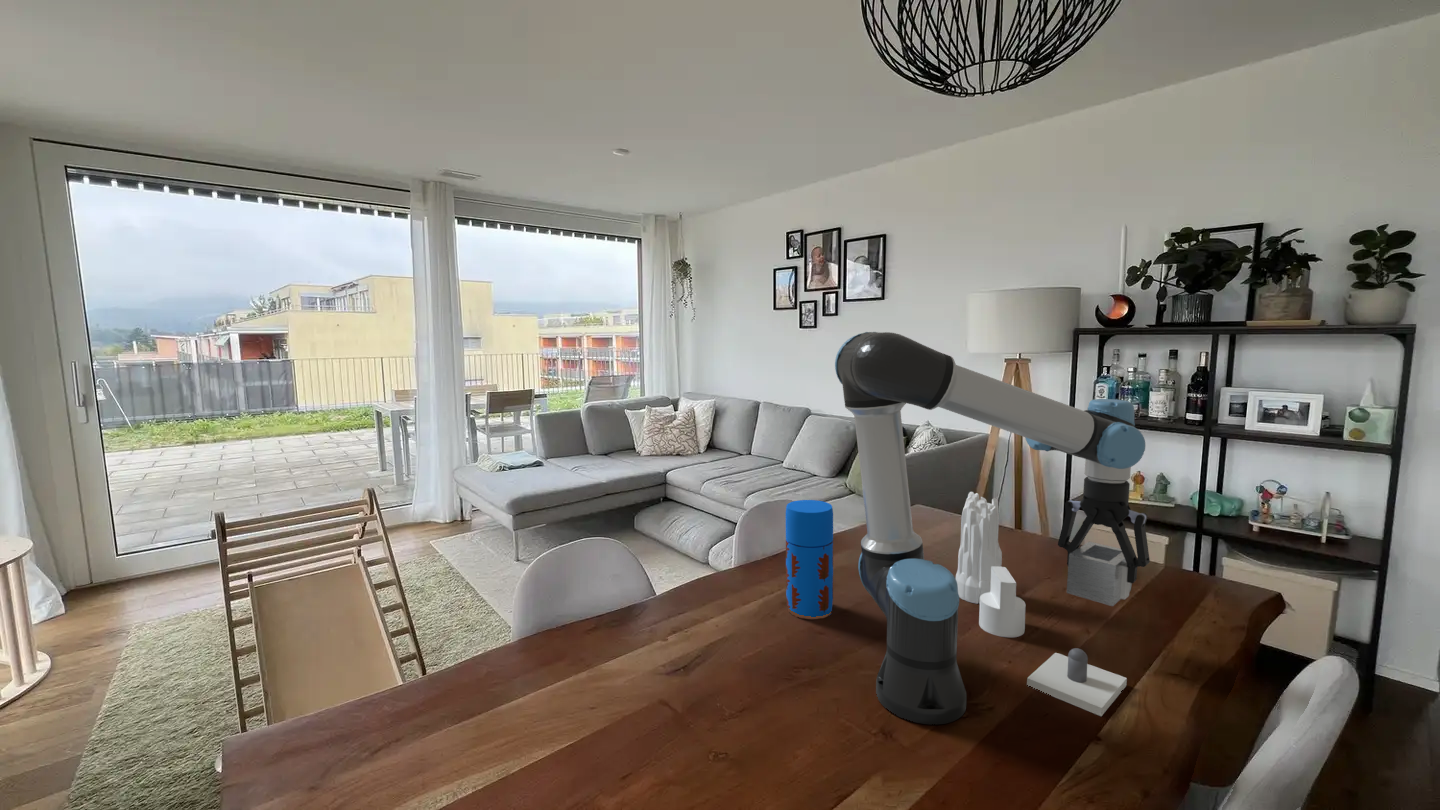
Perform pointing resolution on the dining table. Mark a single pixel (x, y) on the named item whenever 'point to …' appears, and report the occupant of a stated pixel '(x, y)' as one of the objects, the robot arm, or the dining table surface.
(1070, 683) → the keeper board
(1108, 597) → the steel link
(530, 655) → the dining table surface
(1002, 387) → the robot arm
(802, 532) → the thermos
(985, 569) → the decorative vase
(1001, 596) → the cylinder with rectangular tab
